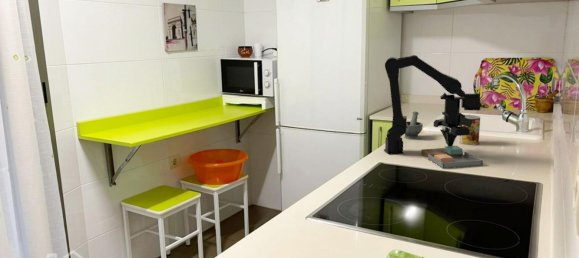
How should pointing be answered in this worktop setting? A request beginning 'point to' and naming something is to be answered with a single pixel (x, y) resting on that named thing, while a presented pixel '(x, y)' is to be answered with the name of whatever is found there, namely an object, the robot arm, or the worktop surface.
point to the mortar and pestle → (413, 127)
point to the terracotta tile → (444, 158)
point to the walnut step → (437, 152)
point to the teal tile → (453, 149)
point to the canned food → (472, 131)
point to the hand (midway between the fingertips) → (450, 147)
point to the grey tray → (458, 161)
